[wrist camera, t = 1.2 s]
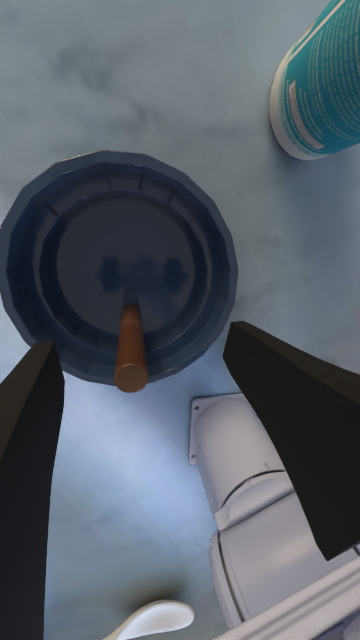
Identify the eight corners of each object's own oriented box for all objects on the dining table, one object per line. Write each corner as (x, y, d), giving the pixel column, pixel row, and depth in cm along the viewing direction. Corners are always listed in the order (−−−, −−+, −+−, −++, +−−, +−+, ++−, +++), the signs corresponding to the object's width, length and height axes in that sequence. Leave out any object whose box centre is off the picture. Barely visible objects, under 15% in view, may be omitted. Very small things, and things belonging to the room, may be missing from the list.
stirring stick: (140, 320, 20) (149, 391, 11) (122, 321, 20) (115, 395, 11) (140, 303, 20) (148, 362, 11) (121, 303, 20) (112, 365, 10)
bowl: (209, 351, 24) (226, 376, 19) (45, 362, 21) (24, 395, 16) (223, 180, 18) (250, 164, 14) (7, 161, 15) (-38, 135, 11)
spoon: (-37, 632, 31) (-56, 677, 28) (194, 581, 38) (200, 612, 35) (-25, 663, 34) (-41, 707, 31) (187, 610, 41) (192, 641, 38)
